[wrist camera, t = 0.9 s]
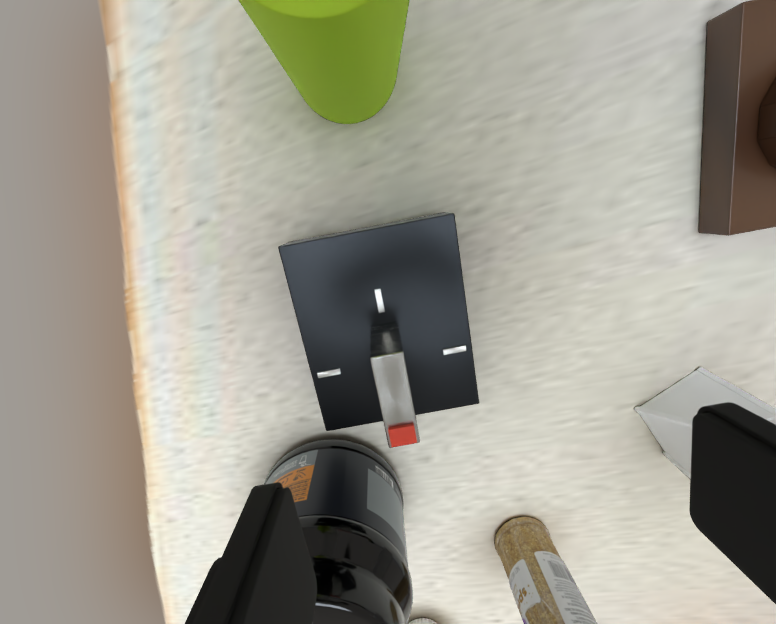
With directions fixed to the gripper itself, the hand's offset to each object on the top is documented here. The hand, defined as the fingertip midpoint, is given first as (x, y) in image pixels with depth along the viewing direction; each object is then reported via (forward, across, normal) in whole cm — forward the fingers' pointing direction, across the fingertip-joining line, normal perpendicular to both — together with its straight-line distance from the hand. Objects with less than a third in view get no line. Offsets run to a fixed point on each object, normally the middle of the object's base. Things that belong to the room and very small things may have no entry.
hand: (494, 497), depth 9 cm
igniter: (+17, -24, -8) cm, 30 cm away
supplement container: (+18, +8, +13) cm, 24 cm away
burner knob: (+14, +2, +2) cm, 15 cm away
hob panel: (+17, +2, 0) cm, 18 cm away
